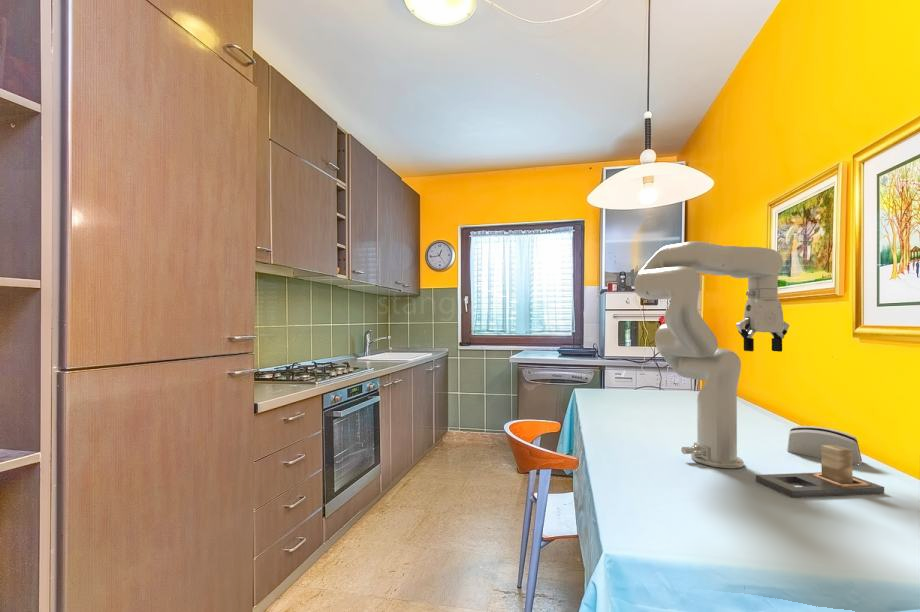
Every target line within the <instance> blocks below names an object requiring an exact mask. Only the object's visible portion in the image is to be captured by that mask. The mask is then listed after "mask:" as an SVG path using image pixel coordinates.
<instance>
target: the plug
mask: <svg viewBox="0 0 920 612" xmlns="http://www.w3.org/2000/svg"><path fill="white" fill-rule="evenodd" d="M820 460H821V472H822V477H824V478H826V479H829V480H832V481H834V482H837V483H840V484H853V479H852V476H853V464H852V450H851V449H847V448H844V447H840V446H837V445H821V458H820Z"/></svg>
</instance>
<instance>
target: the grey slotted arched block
mask: <svg viewBox="0 0 920 612" xmlns="http://www.w3.org/2000/svg"><path fill="white" fill-rule="evenodd" d="M821 445H837V446H840V447H844V448H847V449H851V450H852V465H855V464H859V465H858V466H862V464H863V463H862V462H863V460H862V455H861V452H860V451H861V450H860V446H859V442H858V439H857V437H856V436H854V435H852V434H849V433H846V432H843V431H841V430H836V429H833V428H829V427H828V428H827V427H822V426H813V425H809V426H808V425H802V426H800V425H799V426H793V427H791V428H790V430H789V433H788V439H787V448H786V449H787V450H786V451H787V453H791V454H796V455H801V454H802V455H801V456H807V455H808V456H807V457H812V456H813V458H817V457H819V459H821Z"/></svg>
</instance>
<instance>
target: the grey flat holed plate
mask: <svg viewBox="0 0 920 612" xmlns="http://www.w3.org/2000/svg"><path fill="white" fill-rule="evenodd" d="M852 479H853V484H840V483H837V482H834V481H832V480H829V479H826V478H824V477H822V471H820V472H797V473H774V474H771V473H770V474H755V482H757V483H758V484H762V485H764V486H765V487H768V488H770V489H772V490H774V491H777V492H779V493H781V494H783V495H784V496H788V497H790V498H792V499H795V498H796V499H798V498H815V497H816V498H817V497H819V498H820V497H821V498H822V497H838V496H839V497H840V496H843V497H844V496H858V495H859V496H862V495H880V494H881V495H882V494H885V486H883V485H879V484H877V483H874V482H871V481H867V480H866V479H862V478H859V477H857V476H855V475H852ZM793 484H797V485H800V486H795V485H793Z"/></svg>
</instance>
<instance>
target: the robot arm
mask: <svg viewBox="0 0 920 612" xmlns="http://www.w3.org/2000/svg"><path fill="white" fill-rule="evenodd" d="M783 268H784V260H783V256H782V255H781V254H780V253H779V252H778V251H777V250H775V249H772V248H769V247H768V248H767V247H761V246H760V247H759V246H739V245H738V246H737V245H736V246H735V245H722V244H721V245H720V244H716V243H710V242H705V241H699V240H698V241H697V240H693V241H685V242H680V243H679V242H678V243H673V244H667V245H665V246H663V247H661V248H660V249H659V250H657V251H656V252H655V253H654V254H653V255H652V256H651V257H650V259H648V261H646V263H645V264H644V265H643V267H642V268H641V269H640V270H639V271H638V273H637V274H636V276H635V278H634V283H633V287H634V291H635V293H636V295H637V296H638V297H639V298H642V299H644V300H651V301H652V300H653V301H655V300H670V301H669V304H668V305H669V306H668V308H667V309H666V311H665V314H664V324H661V325H660V326H659V327H658V328H657V329H656V332H655V334H654V343H655V347H656V350H657V352H658V353H659V354H660V356H661V357H662V358H663V359H664V361H666V363H667V364H668V365H669V367H671V369H672V370H673V371H674V372H675V373H676V374H677V375H678V376H680V377H683V378H686V379H690V380H691V379H692V380H699V381H705V383H704V384H703V386H702V387H701V388H700V390H699V391H698V394H697V397H696V398H697V399H696V402H697V409H696V412H697V418H696V419H697V420H696V421H697V429H696V430H697V433H696V434H697V435H696V436H697V437H696V440H697V441H695V442H693V445H691V446H682V447H681V450H680V451H681V453H682V454H683V455H690V454H691V455H690V457H691V459H692V460H693V461H695V462H697V463H699V464H701V465H706V466H708V467H709V466H710V467H713V468H719V469H720V468H722V469H740V468H742V467H743V466H745V463H744V462H745V461H744V460H743V458H741V457H738V428H737V427H738V418H737V417H738V410H737V409H738V407H737V406H738V405H737V404H738V402H737V401H738V399H737V397H738V386H739V379H740V375H741V371H742V361H741V358H740V356H739V355H738V354H737V353H736V352H734V351H732V350H730V349H727V348H723V347H722V348H721V347H719V342H718V340H717V336H716V335H715V333H714V331H712V329H711V328H710V326H709V325H708V324H707V323H706V321H705V320H704V318H703V317H702V316H701V313H700V312H699V311H698V301H699V295H700V294H699V293H700V288H701V281H700V276H699V274H705V275H709V276H710V275H712V276H729V277H731V278H733V279H747V291H746V292H745V295H746V296H747V300H746V302H745V307H744V314H743V319H741V320H740V321H738V322H737V323H736V324H735V326H736V328H737V330H738V333H739V334H740V335H741V338H743V351H744V352H755V351H754V350H755V345H754V343H755V342H754V341H755V340H754V337H753V336H754V335H755V334H756V333H770V334H771V336H772V338H771V351H772V352H777V353H778V352H779V353H780V352H783V339H784V338H785V335H787V333H788V330H789V328H790V323H787V322H786V321H784V314H783V313H784V312H783V306H782V303H781V300H780V299H778V298H779V295H778V293H779V290H778V287H779V286H778V284H779V282H778V277H779V276H778V275H779V274H780V273H781V271H782V269H783Z"/></svg>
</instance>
